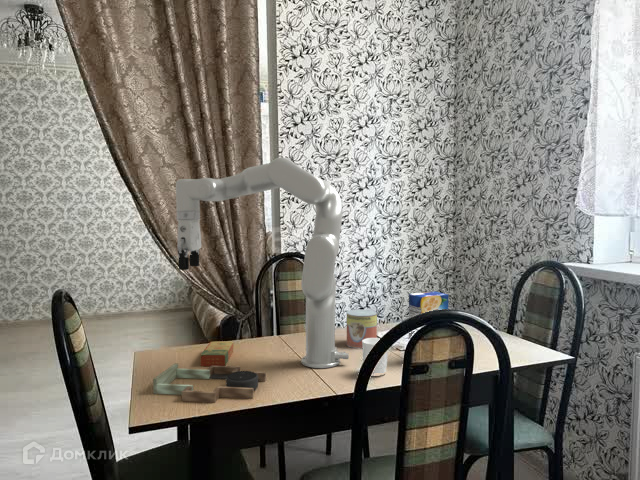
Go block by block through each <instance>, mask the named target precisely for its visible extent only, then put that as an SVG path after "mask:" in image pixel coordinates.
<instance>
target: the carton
mask: <svg viewBox="0 0 640 480" xmlns="http://www.w3.org/2000/svg"><path fill="white" fill-rule="evenodd" d="M233 354H234V341H225V340H224V341H223V340H222V341H220V340H219V341H217V340H216V341H210V342H209V343H208V345H206V347H205V348H204V350H203V351H202V352H201V354H200V356H199V359H200V361H199V366H200V367H211V366H227V364H228V363H229V360H230V359H231V357H232V356H233Z"/></svg>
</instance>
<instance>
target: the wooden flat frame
mask: <svg viewBox="0 0 640 480" xmlns="http://www.w3.org/2000/svg"><path fill="white" fill-rule="evenodd" d="M237 371H241V367H240V366H233V365H232V366H231V365H226V366H208V368H207V369H204V368H203V369H199V368H182V367H181V368H179V363H173V364H172V365H171V366H169V367H167V368H166V369H165V370H164V371H162V372H161V373H159V374H158V375H156V377H154V378H153V379H152V384H153V385H152V390H153V392H152V393H153V394H161V395H176V396H178V395H179V396H181V401H182V402H197V403H198V402H199V403H216V402H217V401H218V400H219V399H220V398H234V399H254V398H255V395H254V394H255V392H254V391H255V390H254V388H243V387H226V386H221V385H220V386H219V385H218V386H216V387H215V389H214V390H212V391H206V390H194V385H193V384H178V383H172V382H174V380H176V379H199V380H225V381H226V377H227V376H228V375H229V374H231V373H233V372H237ZM253 372H254V373H256V374H257V375H258V383H259V382H260V383H261V382H263V383H265V382H266V381H267V378H266V377H267V376H266V375H267V374H266V371H253Z"/></svg>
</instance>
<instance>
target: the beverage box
mask: <svg viewBox="0 0 640 480" xmlns="http://www.w3.org/2000/svg"><path fill="white" fill-rule="evenodd" d="M442 309H448V310H449V294H447V293H443V292H439V291H427V292H416V293H408V319H409V318H411V317H414V316H416V315H419V314H422V313H425V312H429V311H433V310H442ZM414 332H415V331H413V332H411V333H409V332H408V339H409V338H410V337H411V336H412V334H413V333H414Z"/></svg>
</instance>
